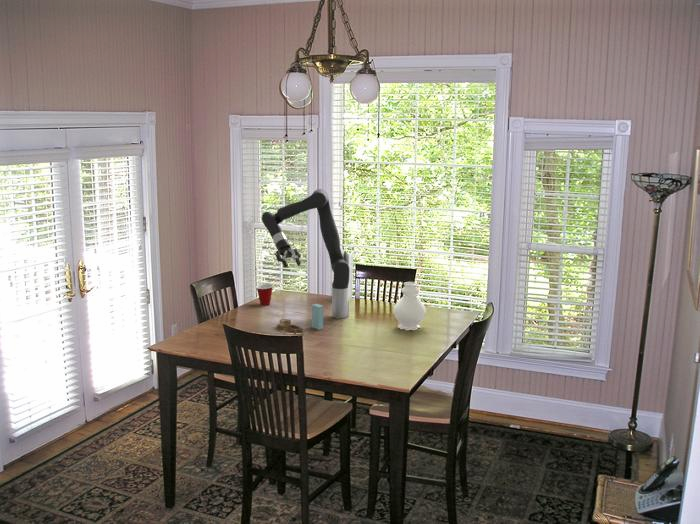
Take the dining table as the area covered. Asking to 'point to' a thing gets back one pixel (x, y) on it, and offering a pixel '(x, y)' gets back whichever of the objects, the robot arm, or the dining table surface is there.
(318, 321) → the teal rectangular block
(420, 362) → the dining table surface
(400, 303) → the decorative vase
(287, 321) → the offcut top
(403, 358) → the dining table surface
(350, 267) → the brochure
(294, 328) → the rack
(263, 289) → the plastic cup
